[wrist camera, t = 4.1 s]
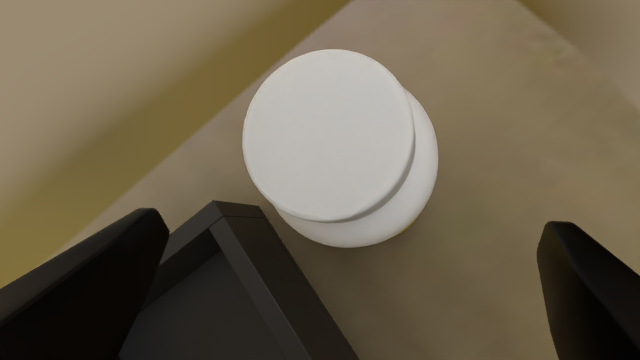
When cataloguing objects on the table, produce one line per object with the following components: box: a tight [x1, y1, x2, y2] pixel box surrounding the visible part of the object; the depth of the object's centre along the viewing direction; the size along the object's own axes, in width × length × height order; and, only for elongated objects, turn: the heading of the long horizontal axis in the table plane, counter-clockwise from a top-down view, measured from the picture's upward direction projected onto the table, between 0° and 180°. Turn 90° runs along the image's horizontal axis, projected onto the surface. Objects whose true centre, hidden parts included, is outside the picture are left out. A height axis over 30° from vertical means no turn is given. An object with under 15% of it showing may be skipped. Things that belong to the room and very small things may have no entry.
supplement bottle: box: [242, 49, 438, 248], centre depth 13 cm, size 5×5×10 cm
